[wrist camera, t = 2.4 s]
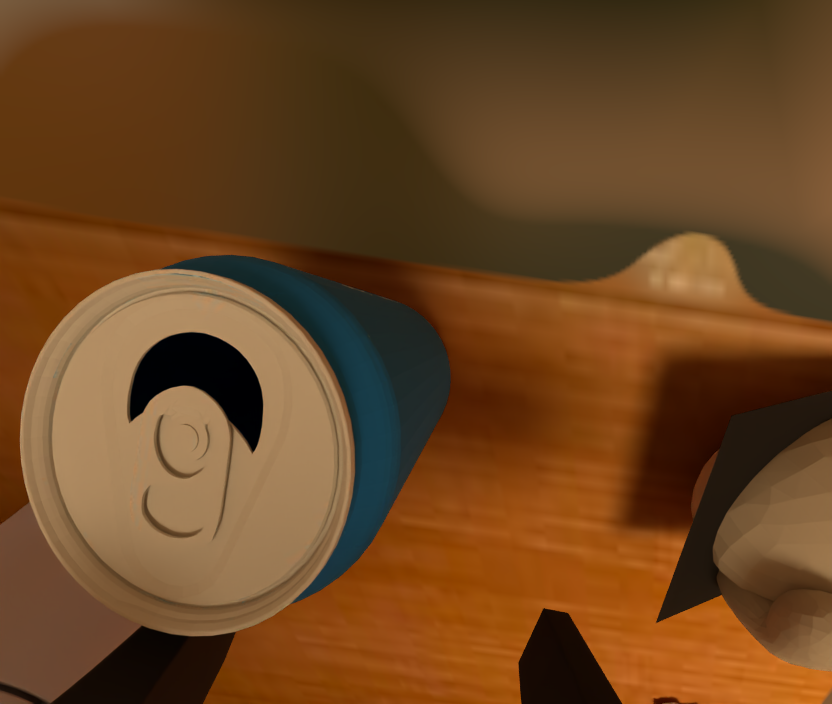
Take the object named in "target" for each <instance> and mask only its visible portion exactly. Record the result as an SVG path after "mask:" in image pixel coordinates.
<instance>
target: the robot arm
mask: <svg viewBox="0 0 832 704" xmlns="http://www.w3.org/2000/svg"><path fill="white" fill-rule="evenodd" d="M235 633H236V632H232V633H226V634H220V635H214V636H185V635H176V634H169V633H165V632H161V631H158V630H154V629H150V628H147V627H145V626H142V625H140V624H137V623H135V622H132V621H130V620H128V619H126V618H125V617H123V616H121V615H119V614H117V613H116V612H114V611H112V610H110V609H109V608H108V607H106V606H105V605H103V604H102V603H101V602H99V601H98V600H97V599H95V598H94V597H93V596H92V595H90V594H89V593H88V592H87V591H86V590H85V589H84V588H83V587H82V586H81V585H80V584H79V583H78V582H77V581H76V580H75V579H74V578H73V577H72V576H71V574H70V573H69V572H68V571H67V570H66V568H65V567H64V566H63V565H62V564H61V562H60V561H59V559H58V558H57V556H56V555H55V553H54V552H53V550H52V549H51V547H50V546H49V544H48V542H47V540H46V538H45V536H44V534H43V532H42V531H41V529H40V527H39V524H38V522H37V519H36V517H35V514H34V512H33V509H32V507H31V504H30V502H29V503H28V504H27V505H25V506H24V507H23V508H21V509H20V510H19V511H18V512H16V513H15V514H14V515H12V516H11V517H10V518H9V519H7V520H6V521H5V522H3V523H2V524H1V525H0V704H203V702H204V700H205V698H206V696H207V694H208V692H209V690H210V688H211V686H212V684H213V682H214V680H215V678H216V676H217V674H218V672H219V670H220V668H221V666H222V664H223V662H224V660H225V658H226V655H227V653H228V650H229V648H230V645H231V643H232V640H233V638H234V635H235ZM519 677H520V691H521V703H522V704H622V702H621V701H620V699H619V698H618V696H617V694H616V693H615V691H614V689H613V688H612V686H611V684H610V683H609V681H608V680H607V678H606V676H605V674H604V673H603V671H602V669H601V668H600V666H599V664H598V663H597V661H596V659H595V658H594V656H593V654H592V653H591V651H590V649H589V648H588V646H587V644H586V642H585V641H584V639H583V637H582V636H581V634H580V632H579V631H578V629H577V627H576V625H575V624H574V622H573V621H572V619H571V617H570V616H569V614H568V613H565V612H560V611H555V610H550V609H545V608H544V609H543V611H542V613H541V615H540V617H539V620H538V622H537V624H536V626H535V628H534V630H533V632H532V635H531V637H530V639H529V641H528V643H527V645H526V648H525V650H524V652H523V654H522V656H521V658H520V660H519Z"/></svg>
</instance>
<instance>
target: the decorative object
mask: <svg viewBox="0 0 832 704" xmlns="http://www.w3.org/2000/svg"><path fill="white" fill-rule="evenodd" d="M691 511H692V517H693V523H692V526H691V528H690V531H689V534H688V537H687V539H686V542H685V545H684V548H683V550H682V553H681V556H680V558H679V561H678V564H677V567H676V569H675V572H674V575H673V578H672V580H671V583H670V586H669V589H668V591H667V594H666V597H665V599H664V602H663V605H662V608H661V610H660V613H659V616H658V619H657V621H656V623H657V622H659V621H662V620H664V619H666V618H669V617H671V616H673V615H676V614H678V613H680V612H683V611H685V610H687V609H690V608H692V607H694V606H697V605H699V604H701V603H704V602H706V601H708V600H711V599H713V598H715V597H718V596H720V595H723V597H724V599H725V601H726V602H727V604H728V606H729V607H730V608H731V609H732V611H733V612H734V614H735V615H736V616H737V618H738V619H739V621H740V622H741V623H742V624H743V625H744V626H745V627H746V629H747V630H748V631H749V632H750V633H751V634H752V635H753V636H754V637H755V638H756V639H757V640H758V641H759V642H760V643H761V644H762V645H763V646H764V647H765V648H766V649H767V650H768V651H769V652H770V653H772V654H773V655H775V656H776V657H778V658H780V659H782V660H784V661H786V662H788V663H790V664H794V665H799V666H802V667H806V668H810V669H816V670H823V671H832V391H829V392H825V393H821V394H817V395H813V396H809V397H805V398H801V399H797V400H793V401H789V402H785V403H781V404H777V405H773V406H769V407H765V408H761V409H757V410H753V411H749V412H745V413H741V414H737V415H733V416H731V419H730V422H729V424H728V427H727V430H726V433H725V435H724V438H723V441H722V444H721V446H720V449H719V450H718V451H717V452H715V453H714V454H713V455H712V457H711V458H710V459H709V460H708V462H707V463H706V464H705V465H704V467H703V469H702V471H701V473H700V475H699V477H698V479H697V482H696V484H695V486H694V489H693V496H692V502H691Z"/></svg>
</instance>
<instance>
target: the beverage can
mask: <svg viewBox="0 0 832 704" xmlns="http://www.w3.org/2000/svg"><path fill="white" fill-rule="evenodd" d="M450 383H451V378H450V365H449V360H448V356H447V352H446V350H445V347H444V345H443V343H442V340H441V339H440V337H439V335H438V334H437V332H436V331H435V329H434V328H433V327H432V326H431V324H430V323H429V322H428V321H427V320H426V319H425V318H424V317H423V316H422V315H420V314H419V313H418V312H416V311H415V310H413V309H412V308H410V307H408V306H406V305H404V304H402V303H399V302H397V301H394V300H391V299H388V298H385V297H382V296H378V295H375V294H372V293H369V292H366V291H363V290H360V289H356V288H353V287H350V286H347V285H344V284H341V283H338V282H335V281H331V280H328V279H325V278H322V277H319V276H316V275H313V274H310V273H306V272H303V271H300V270H297V269H294V268H291V267H288V266H284V265H281V264H278V263H275V262H271V261H267V260H263V259H259V258H255V257H246V256H237V255H221V256H205V257H200V258H195V259H190V260H185V261H182V262H179V263H176V264H173V265H170V266H167V267H164V268H162V269H159V270H152V271H147V272H142V273H136V274H133V275H130V276H127V277H124V278H122V279H119V280H116V281H114V282H112V283H110V284H108V285H106V286H104V287H102V288H100V289H98V290H97V291H95V292H94V293H92V294H91V295H90V296H88V297H87V298H85V299H84V300H83V301H81V302H80V303H79V304H78V305H77V306H76V307H75V308H74V309H73V310H72V311H71V312H69V313H68V314H67V315H66V316H65V317H64V318H63V320H62V321H61V322H60V323H59V325H58V326H57V327H56V329H55V330H54V331H53V332H52V334H51V335H50V337H49V338H48V340H47V342H46V344H45V345H44V347H43V349H42V350H41V352H40V354H39V356H38V358H37V361H36V363H35V365H34V368H33V370H32V372H31V375H30V379H29V382H28V386H27V389H26V392H25V397H24V403H23V408H22V414H21V428H20V449H21V463H22V469H23V475H24V481H25V486H26V489H27V493H28V497H29V500H30V504H31V507H32V509H33V512H34V514H35V517H36V519H37V522H38V524H39V527H40V529H41V531H42V532H43V534H44V536H45V538H46V540H47V542H48V544H49V546H50V547H51V549H52V550H53V552H54V553H55V555H56V556H57V558H58V559H59V561H60V562H61V564H62V565H63V566H64V567H65V568H66V570H67V571H68V572H69V573H70V574H71V576H72V577H73V578H74V579H75V580H76V581H77V582H78V583H79V584H80V585H81V586H82V587H83V588H84V589H85V590H86V591H87V592H88V593H89V594H90V595H92V596H93V597H94V598H95V599H97V600H98V601H99V602H101V603H102V604H103V605H105V606H106V607H108V608H109V609H110V610H112V611H114V612H116V613H117V614H119V615H121V616H123V617H125V618H126V619H128V620H130V621H132V622H135V623H137V624H140V625H142V626H145V627H147V628H150V629H154V630H158V631H161V632H165V633H169V634H176V635H185V636H214V635H220V634H226V633H232V632H236V631H239V630H242V629H245V628H248V627H251V626H254V625H256V624H258V623H260V622H262V621H264V620H266V619H268V618H270V617H272V616H274V615H275V614H276V613H278V612H279V611H281V610H282V609H283V608H285V607H286V606H288V605H289V604H292V603H295V602H297V601H300V600H302V599H304V598H306V597H308V596H310V595H312V594H314V593H316V592H318V591H320V590H321V589H323V588H324V587H326V586H327V585H329V584H330V583H331V582H333V581H334V580H336V579H337V578H338V577H340V576H341V575H342V574H343V573H344V572H345V571H347V570H348V569H349V568H350V567H351V566H352V565H353V564H354V563H355V562H356V561H357V560H358V559H359V558H360V556H361V555H362V554H363V553H364V551H365V550H366V549H367V548H368V546H369V545H370V544H371V542H372V541H373V539H374V537H375V536H376V534H377V532H378V531H379V529H380V527H381V525H382V524H383V522H384V520H385V518H386V516H387V515H388V513H389V511H390V509H391V507H392V505H393V503H394V502H395V500H396V498H397V496H398V494H399V492H400V491H401V489H402V487H403V485H404V483H405V481H406V480H407V478H408V476H409V474H410V472H411V470H412V468H413V467H414V465H415V463H416V461H417V459H418V457H419V456H420V454H421V452H422V450H423V448H424V446H425V445H426V443H427V441H428V439H429V437H430V435H431V433H432V432H433V430H434V428H435V426H436V424H437V422H438V421H439V419H440V417H441V415H442V413H443V411H444V408H445V406H446V404H447V400H448V396H449V391H450Z"/></svg>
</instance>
